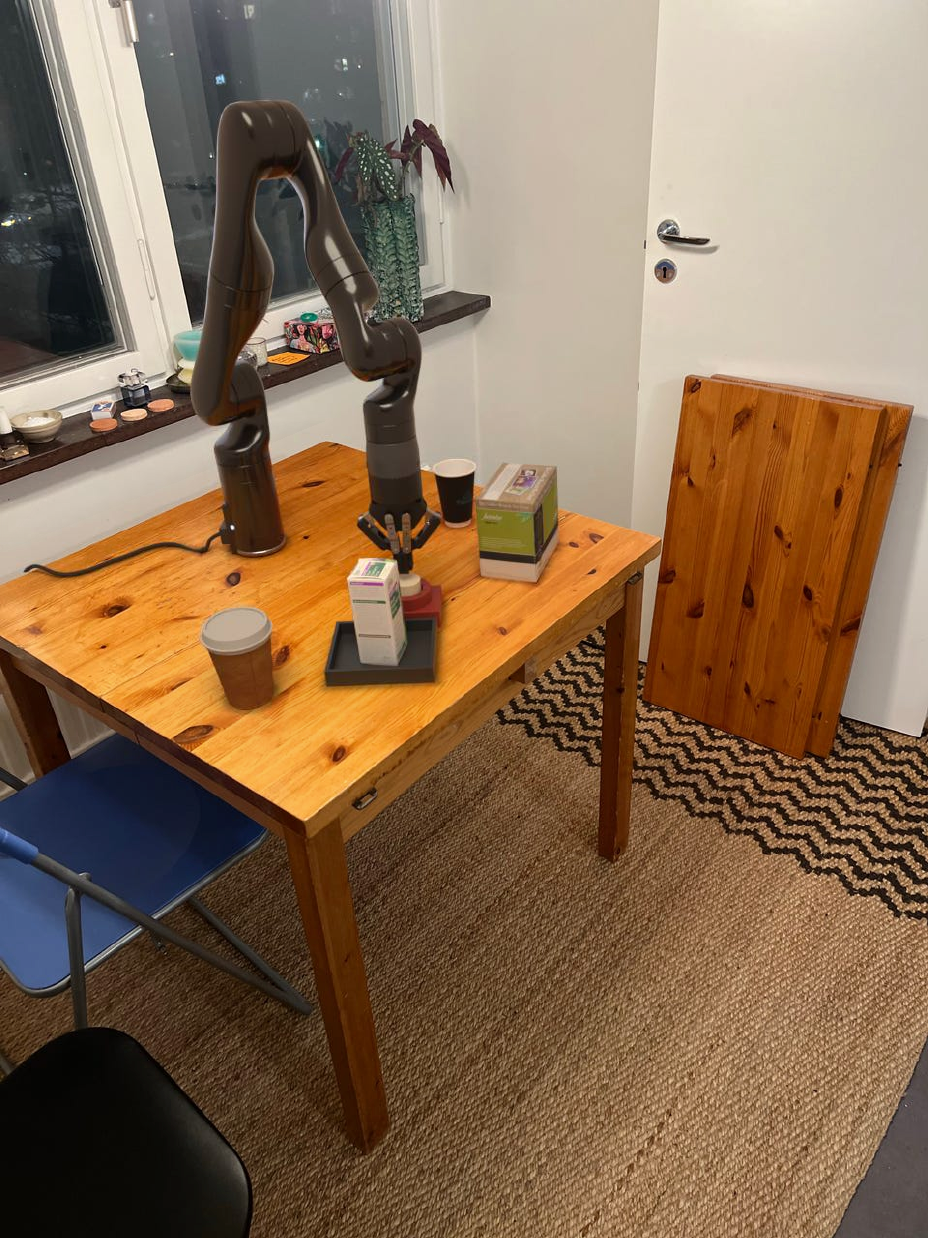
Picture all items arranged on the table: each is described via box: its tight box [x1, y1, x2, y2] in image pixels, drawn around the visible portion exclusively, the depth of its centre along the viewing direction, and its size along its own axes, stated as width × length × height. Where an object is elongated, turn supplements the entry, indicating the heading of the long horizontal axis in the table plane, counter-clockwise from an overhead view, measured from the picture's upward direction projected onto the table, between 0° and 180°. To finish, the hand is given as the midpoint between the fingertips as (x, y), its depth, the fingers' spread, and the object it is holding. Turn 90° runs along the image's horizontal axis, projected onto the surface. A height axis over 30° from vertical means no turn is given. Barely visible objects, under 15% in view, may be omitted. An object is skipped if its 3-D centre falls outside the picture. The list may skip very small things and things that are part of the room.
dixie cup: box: [432, 458, 477, 529], centre depth 167 cm, size 8×8×11 cm
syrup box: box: [346, 557, 408, 666], centre depth 129 cm, size 6×6×14 cm
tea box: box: [475, 462, 560, 584], centre depth 152 cm, size 15×10×15 cm, turn 160°
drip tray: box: [323, 617, 439, 688], centre depth 133 cm, size 15×13×3 cm
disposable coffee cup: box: [199, 606, 275, 710], centre depth 124 cm, size 10×10×12 cm
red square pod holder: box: [402, 577, 443, 629], centre depth 142 cm, size 10×8×5 cm
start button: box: [399, 572, 421, 597], centre depth 140 cm, size 4×4×2 cm
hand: (404, 571), depth 139 cm, fingers closed
